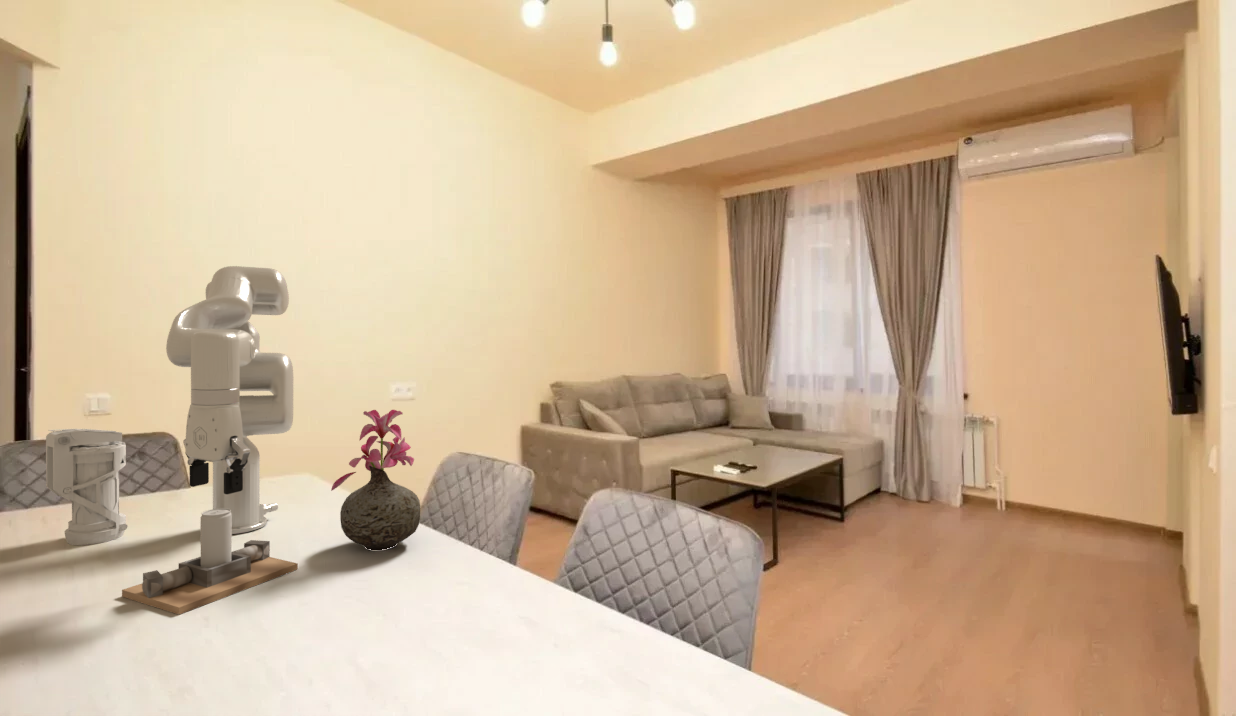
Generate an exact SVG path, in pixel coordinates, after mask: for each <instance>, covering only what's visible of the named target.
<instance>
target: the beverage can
mask: <svg viewBox="0 0 1236 716" xmlns="http://www.w3.org/2000/svg"><path fill="white" fill-rule="evenodd" d="M232 535H233V534H232V514H231V510H230V509H225V508H221V509H213V508H212V509H208V510H205V511H202V512H201V516H200V557H201V567H204V568H208V569H209V568H212V567H215V566H218V565H221V564H224V563H228V562H231V552H232V540H233V539H232Z"/></svg>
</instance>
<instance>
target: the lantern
mask: <svg viewBox="0 0 1236 716" xmlns="http://www.w3.org/2000/svg"><path fill="white" fill-rule="evenodd" d="M48 431H50V432H49V433H48V434H46V435H45V479H46V480H45V484H46V485H45V486H46V488H47V489H48V490H50V491H51V492H52V493H54V495H56V496H57V497H60V498H61V497H62V498H63V499H65V500H69V501H71V520H69V521H68V525H67V528H66V529H65V530H64V537H65V540H66V544H69V545H72V546H86V545H97V544H101V543H107V542H110V541H114V540H116V539H119V538H121V537H122V536H124V534H125V530H127V529H128V524H127V515H126V514H125V513H122V512H120V470H122V469H123V468H124V467H126V465H127V460H126V459H127V445H126V442H125V441H123V432H121V431H117V430H110V429H109V430H108V429H107V430H105V429H91V428H63V429H62V428H61V429H58V430H57V429H48Z"/></svg>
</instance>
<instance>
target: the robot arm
mask: <svg viewBox="0 0 1236 716" xmlns="http://www.w3.org/2000/svg"><path fill="white" fill-rule="evenodd" d="M289 295H290V294H289V290H288V285H287V281H286V279H285V277H284V275H283V274H282V273H281V272H280V271H278V270H277V269H275V268H268V267H254V266H242V265H241V266H237V265H232V266H231V265H230V266H224V267H222V268H220V269H217V270H216V271H215V273H214V274H213V276H212V278H211V281H209V282H208V283H207V285H206V288H205V299H204V300H201V301H199V302H197V303H195V304H193V305H191V306H189V307H186V308H185V309H183V310H181V311H180V312H179V313H177V315H176V316H175V317H174V319H173V320H172V323H171V327H170V329H169V331H168V334H167V339H166V345H165V346H166V348H165V350H166V356H167V358H168V360H169V361H170V363H172V364H173V365H174V366H176V367H181V368H190V405H189V408H188V411H187V413H188V414H187V418H186V427H185V428H186V429H185V438H184V439H183V446H184V449H185V452H184V453H185V455H186V457H187V465H188V466H189V487H198V486H204V485H207V484H209V483H210V482H209V481H210V480H209V478H210V476H209V475H210V473H209V472H210V471H209V470H210V469H209V468H210V466H209V465H210V464H209V463H210V462H211V463H212V509H221V508H225V509H230V510H231V514H232V535H236V534H237V535H238V534H243V533H249V532H252V531H255V530H259V529H261V528H263V527H265V526H266V525H267V524H268V523H267V521H268V520H267V517H265V515H266V514H267V513H271V512H275V511H278V509H279V505H278V504H277V503H276V502H274V503H270V504H267V505H266V504H265V503H263V504H262V503H261V502H260V495H261V494H260V489H261V488H260V481H261V480H260V478H261V476H260V475H261V474H260V473H261V472H260V471H261V468H260V465H261V464H260V461H261V460H260V459H261V457H260V451H259V449H258V447H257V446H256V445H255V444H254V443H253V442H252V441H251V440H250V439H249V438H248V437H249V436H260V435H262V436H263V435H279V434H285V433H287V432H289V431H290V430H291V428H292V426H293V423H294V422H293V421H294V366H293V362H292V360H291V358H290V357H289V356H288V355H286V354H285V353H280V352H261V351H260V340H261V339H260V333H259V331H258V330H257V329H256V328H255V326H254V325H253V324H252V323H251V322H250V319H251V317H252V315H255V316H256V315H258V316H260V315H261V316H280V315H281V316H282V315H283V314H285V313H286V311H287V310H288V307H289V302H290V297H289ZM241 392H270V393H272V394H269V395H268V394H267V395H264V394H263V395H240V393H241Z"/></svg>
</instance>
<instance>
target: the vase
mask: <svg viewBox="0 0 1236 716" xmlns="http://www.w3.org/2000/svg"><path fill="white" fill-rule="evenodd" d="M379 413H380V412H379V411H378V410H377V409H373V410H369V411H367V410H364V411H363V413H362V414H363V415H364V416H366V417H368V418H369V419H370V420H372V422H373V423H374V424H373V423H367V424H365V425H364V426H363V427H362V429H361V432H360V434H359V442H360V441H361V440H362V439H364V438H365V437H366V436H367V435H369V434H370V433H371V432H375V433H376V434H377V435H370V436H369V437H368V438H367V439H366V442H365V443H364V444H362V445H361V447H360V451H361V452H362V453H363V454H362V455H361V457H354V458H353V459H351V460H350V461H349V462H348V465H349V466H350V467H351V468H356V467H357V465H358V464H359V463H360V461H361V460H363V459H364V461H365V464H364V468H365V470H367V471H369V472H370V479H369V481H368V482H367V483H366V484H364V485H363V486H362V487H359V488H358V489H356V490H354V491H353V492H351V493H350V494H349V495H348V496H346V498H345V499H344V502H343V503H342V505H341V507H340V514H339V515H340V516H339V517H340V518H339V519H340V520H339V521H340V527H341V530H342V531H343V533H344V535H345V537H347V538H348V539H349V540H350V541H352V542H353V543H355V544H357V545H360V546H362V547H364V548H365V547H366V548H367V549H371V550H382V549H387V548H390V547H393V546H395V545H396V544H397V545H398V544H400V543H401V542H403V541H404V540H406V539H408V538H409V537H410V536H412V535H413V534H414V533H416V531H417V530H418V527H419V526H420V520H421V502H420V499H419V497H418V494H416V493H415V492H414V491H413V490H411V489H410V488H408V487H405V486H403V485H401V484H398V483H395V482H393V481H392V480H390V477H388V474H387V472H386V471H385V469H386V468H387V469H389V468H393V467H395V466H397V465H398V462H400V463H401V464H402V466H407V463H408V464H409V466H410V467H412V466H413V464H414V461H415V458H414V457H412V456H411V455H407V451H408V450H410V449H412V446H411V445H410V444H409V443H408V442H406V441H405V440H406V438H405V437H403V438H402V429H401V428H402V427H400V425H398V424H394V423H393V424H391V423H392V422H393V419H396V417H398V416H401V415H403V414H404V413H403V412H402V411H401V410H397V409H390V411H389V412H387V413H385V414H384V415H382V416H380V414H379ZM389 424H391V425H389ZM389 432H390V433H392V434H393V435H394V436H395V437H394V438H392V441H393V442H392V441H386V440H384V437H385V436H386V435H387V434H388V433H389ZM378 438H380V440H378ZM375 442H376V443H378V444H380V450H379V449H378V448H372V446H373V445H374V443H375ZM384 446H385V448H386V450H387V451H386V453H385V455H383V453H384ZM371 448H372V449H371ZM406 462H407V463H406ZM356 473H357V471H353V472H348V473H346V474H344V475H342V476H341V477H339V478H338V479H336V480H335V481H334V482H333V484H332V486H331V490H330V491H331V492H332V491H334V490H336V489H337V488H338V487H340V486H341V485H342V484H343V483H344V482H345V481H346V480H347V479H349V478H350V477H351V476H353V475H355V474H356Z"/></svg>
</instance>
